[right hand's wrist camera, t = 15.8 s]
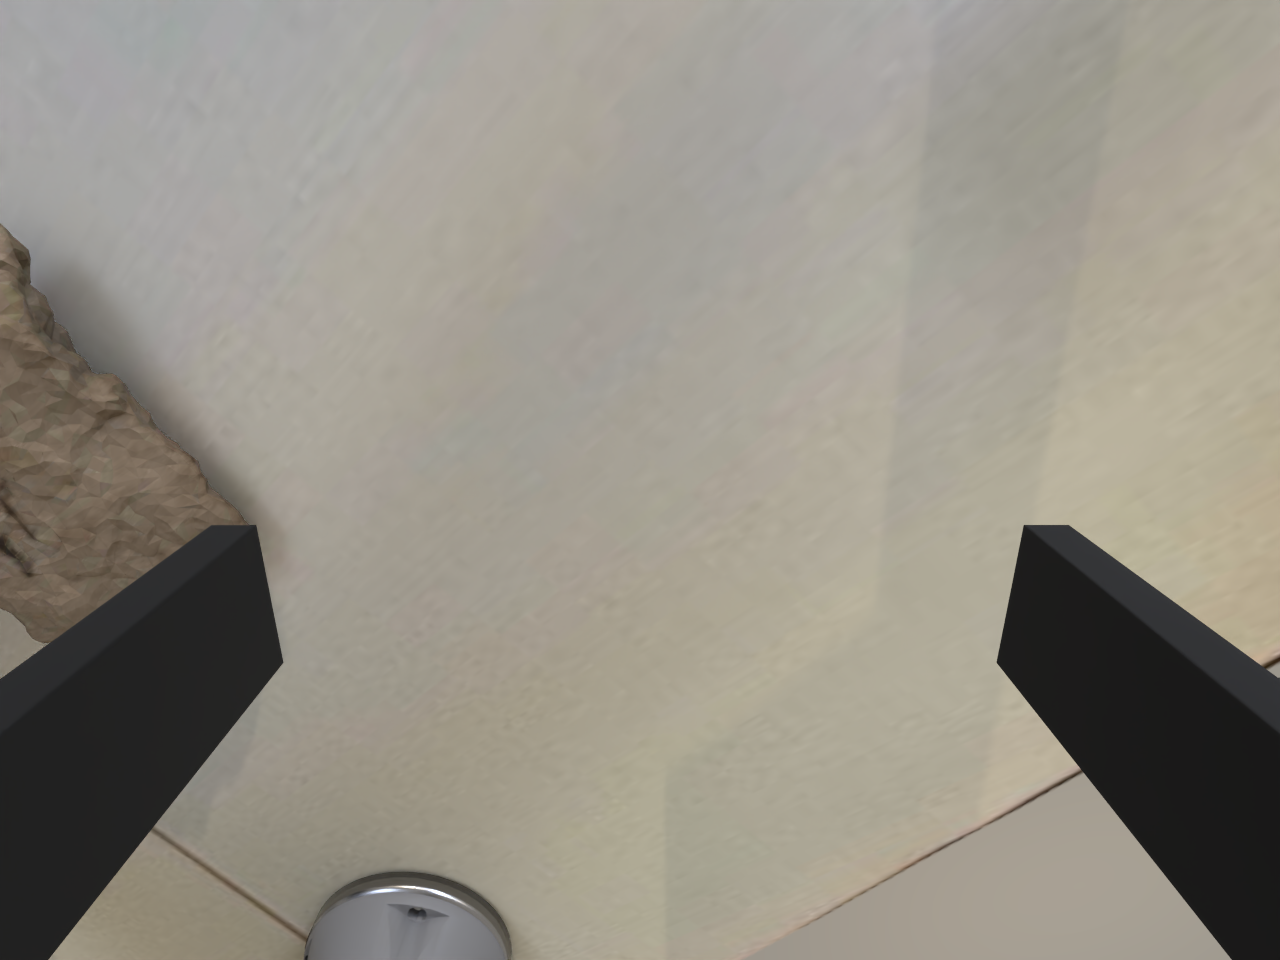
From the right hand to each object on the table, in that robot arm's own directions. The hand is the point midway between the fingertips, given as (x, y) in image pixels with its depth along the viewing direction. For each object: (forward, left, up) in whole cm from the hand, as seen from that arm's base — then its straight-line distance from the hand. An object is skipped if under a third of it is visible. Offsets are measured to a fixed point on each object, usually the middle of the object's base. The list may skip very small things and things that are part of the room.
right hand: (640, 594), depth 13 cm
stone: (-32, +11, -30) cm, 45 cm away
